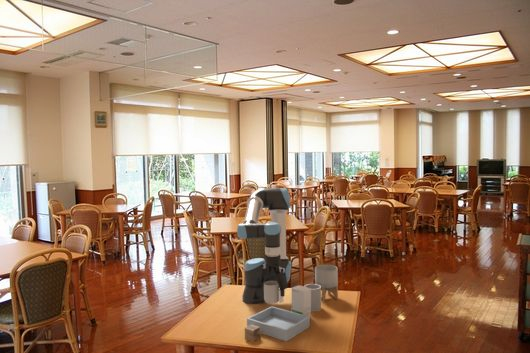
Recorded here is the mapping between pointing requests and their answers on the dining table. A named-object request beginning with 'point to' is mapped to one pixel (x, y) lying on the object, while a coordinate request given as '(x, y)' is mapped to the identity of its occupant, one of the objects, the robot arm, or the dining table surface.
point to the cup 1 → (271, 292)
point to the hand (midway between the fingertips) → (273, 300)
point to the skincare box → (301, 300)
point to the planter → (327, 279)
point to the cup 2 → (315, 296)
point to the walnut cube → (252, 332)
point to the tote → (279, 323)
